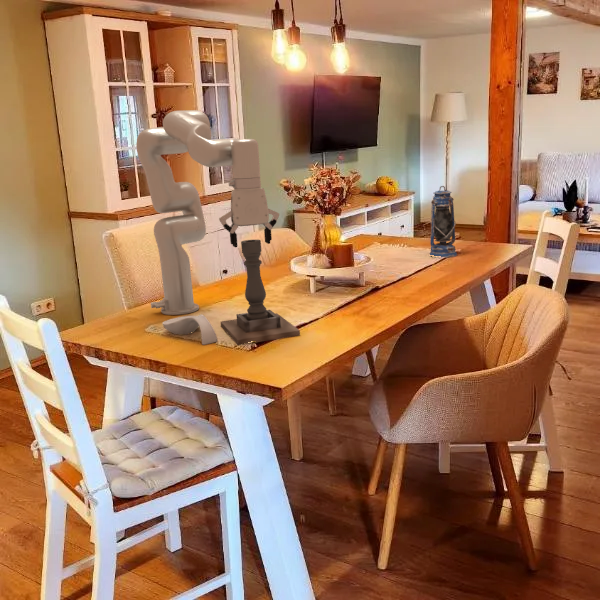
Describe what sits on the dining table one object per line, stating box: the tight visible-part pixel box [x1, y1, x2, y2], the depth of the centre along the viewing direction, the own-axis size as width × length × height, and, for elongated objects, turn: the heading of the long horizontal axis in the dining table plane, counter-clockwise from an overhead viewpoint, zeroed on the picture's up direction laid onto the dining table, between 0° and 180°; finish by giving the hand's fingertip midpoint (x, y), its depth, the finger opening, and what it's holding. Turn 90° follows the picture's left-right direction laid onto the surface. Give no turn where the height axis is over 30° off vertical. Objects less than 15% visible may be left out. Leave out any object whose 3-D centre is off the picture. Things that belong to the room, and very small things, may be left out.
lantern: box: [429, 185, 458, 259], centre depth 298 cm, size 15×12×30 cm
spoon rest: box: [161, 313, 218, 346], centre depth 201 cm, size 24×12×7 cm, turn 35°
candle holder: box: [240, 239, 268, 321], centre depth 199 cm, size 6×6×25 cm
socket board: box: [220, 309, 301, 346], centre depth 202 cm, size 18×22×4 cm
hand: (251, 244), depth 197 cm, fingers open, 9 cm apart
